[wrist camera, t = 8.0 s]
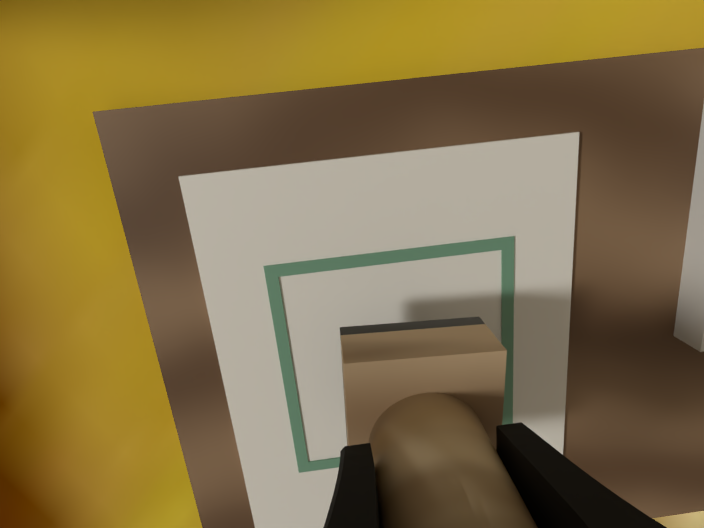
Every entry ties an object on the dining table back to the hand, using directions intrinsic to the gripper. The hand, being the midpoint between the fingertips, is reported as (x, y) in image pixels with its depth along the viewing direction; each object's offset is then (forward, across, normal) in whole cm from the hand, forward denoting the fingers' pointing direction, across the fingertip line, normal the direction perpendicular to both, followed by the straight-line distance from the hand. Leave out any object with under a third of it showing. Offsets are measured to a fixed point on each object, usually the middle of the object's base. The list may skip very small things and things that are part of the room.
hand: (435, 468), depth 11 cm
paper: (+5, 0, 0) cm, 5 cm away
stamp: (+3, 0, 0) cm, 3 cm away
